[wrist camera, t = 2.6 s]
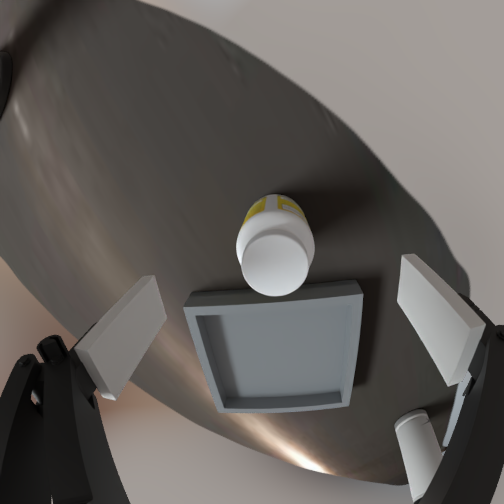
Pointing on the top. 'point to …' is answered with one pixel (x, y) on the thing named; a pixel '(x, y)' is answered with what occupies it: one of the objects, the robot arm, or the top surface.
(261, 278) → the supplement bottle
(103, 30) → the top surface
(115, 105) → the top surface
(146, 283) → the robot arm
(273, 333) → the tray
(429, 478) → the travel mug
